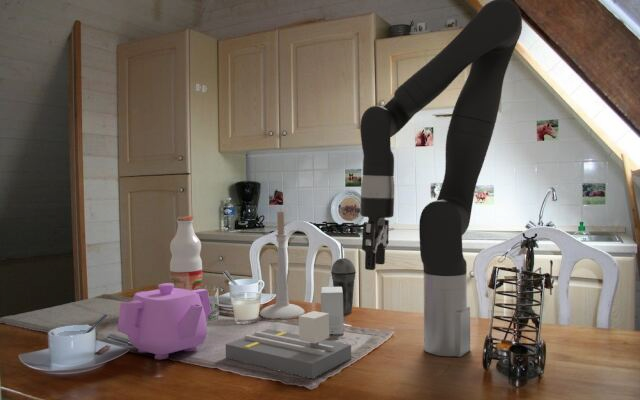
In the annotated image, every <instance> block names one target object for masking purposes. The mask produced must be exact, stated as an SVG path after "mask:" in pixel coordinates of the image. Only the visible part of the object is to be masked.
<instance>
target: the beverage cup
mask: <svg viewBox="0 0 640 400" xmlns="http://www.w3.org/2000/svg"><path fill="white" fill-rule="evenodd" d="M343 250H344V249H343V243H340V256H341V258H339V259H337V260H335V261H334V263H333V264H332V266H331V271H330V273H331V279H332V287H342V290H343V315H348V314H351V313H352V311H353V303H354V302H353V300H354V290H355V289H354V287H355V279H356V273H357V270H356V266H355V265H354V263H353V262H352V261H351V259H349V258H344V252H343Z"/></svg>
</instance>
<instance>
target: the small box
mask: <svg viewBox="0 0 640 400" xmlns="http://www.w3.org/2000/svg"><path fill="white" fill-rule="evenodd" d="M320 312H323V313H329V336H331V334H333V335H344V334H345V333H344V332H345V330H344V329H345V328H344V325H345V324H344V322H345V321H344V314H343V290H342V287H333V286H322V287H320Z"/></svg>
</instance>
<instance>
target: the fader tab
mask: <svg viewBox="0 0 640 400" xmlns="http://www.w3.org/2000/svg"><path fill="white" fill-rule="evenodd" d="M298 335H299V340H300V341H305V342H310V348H315V349H318V348H319V342H320V341H322V340H328V339H329V338H330V335H329V313H323V312H321V311H315V310H312V311H310V312H306V313H305V314H303V315H300V316H299V317H298Z"/></svg>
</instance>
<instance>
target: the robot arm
mask: <svg viewBox="0 0 640 400" xmlns="http://www.w3.org/2000/svg"><path fill="white" fill-rule="evenodd" d="M522 17H523V16H522V13H521V10H520V8H519V6H518V5H517V4H516V3H515V2H513V1H512V0H490V1H489V2H487V3H485V4H484V5H483V6H482V7H481V8H480V9H479V10H478V11H477V12H476V13H475V15H474V16H473V17H472V19H470V20H469V22H468V23H467V24H466V25H465V27H463V29H462V30H461V31H460V32H459V33H458V34H457V35H455V37H454V38H453V39H452V40H451V41H450V42H449V43H448V44H447V45H446V46H445V47H444V48H443V49H442V50H441V51H439V52H438V53H437V54H436V55H435V56H434V57H433V58H431V59H430V60H429V61H428V62H427V63H426V64H424V66H422V67H421V68H420V69H419V70H418V71H416V72H415V73H414V74H412V75H411V76H410V77H409V78H408V79H406V80H405V81H404V82H403V83H402V84H400V86H399V87H397V89H396V90H395V91H394V94H393V97H392V98H390V100H389V101H388V102H386V104H385V105H383V106H380V105H372V106H370V107H368V108H367V109H366V110H365V111H364V112H363V114H362V116H361V119H360V128H359V129H360V130H359V131H360V132H359V133H360V140H361V147H362V153H363V160H362V179H361V186H360V210H359V211H360V216H361V217H363V218H368V220H367V222H366V223H365V222H364V223H363V224H362V241H361V242H362V243H361V250H362V251H364V253H365V256H364V257H365V258H364V269H365V271H366V270H368V271H374V270H376V265H385V263H386V249H387V246H388V244H389V243H390V242H389V234H390V233H389V228H390V227H389V226H390V225H389V224H390V220H389V218H392V217H394V211H395V210H394V209H395V178H394V176H395V175H394V174H395V156H394V152H393V151H392V149H391V148H392V147H391V144H392V143H391V138H392V137H393V136H395V135H396V134H398V133H399V132H400V131H401V130H402V129H403V128H404V127H405V126H406V125H407V124H408V123H409V122H410V120H412V118H413V117H414V116H415V115H416V114H417V113H419V112H420V111H422V110H423V109H424V108H425V107H427V106H428V105H429V104H431V102H434V101H433V100H435V99H436V98H437V97H439V96H440V95H441V94H442V93H443V92H445V90H446V89H447V88H448V87H449V86H450V85H451V84H452V83H453V82H454V81H455V79H456V78H457V77H458V76H459V75H460V74H461V73H462V72H463V71H464V70H465V69H467V68H468V67H469V66H470V65H471V66H470V69H469V73H468V75H467V77H466V80H465V82H464V85H463V86H462V87H461V91H460V92H459V95H458V97H457V100H456V102H455V105H454V107H453V110H452V113H451V117H450V121H449V124H448V127H447V128H448V129H447V133H446V138H445V164H444V165H445V167H444V168H445V170H444V176H443V181H442V184H441V188H440V191H439V194H438V196H437V199H436V200H435V201H431V202H429V203H428V204H427V205H426V206H424V208H423V209H422V211H421V213H420V217H419V225H418V226H419V231H418V232H419V250H420V251H419V254H420V259H421V263H422V267H423V268H422V269H423V344H424V345H423V347H424V348H423V349H424V351H425V352H427V353H428V354H431V355H435V356H440V357H459V358H461V357H463V356H464V355H465V354H467V353H468V352H469V351H471V308H470V307H469V306H467V305H468V303H467V302H468V301H467V299H468V298H467V297H468V296H467V295H468V293H467V290H468V289H467V288H468V283H467V280H468V279H467V271H468V270H467V268H468V267H467V266H468V265H467V261H466V259H465V257H464V254H463V235H464V234H465V233H466V232H467V230H468V228H469V226H470V223H471V222H470V221H471V216H472V211H473V203H474V199H475V198H474V197H475V192H476V186H477V183H478V179H479V176H480V174H481V171H482V168H483V165H484V162H485V159H486V157H487V153H488V150H489V146H490V144H491V141H492V137H493V134H494V130H495V126H496V123H497V117H498V114H499V110H500V103H501V98H502V91H503V85H504V79H505V76H506V73H507V69H508V66H509V64H510V61H511V58H512V56H513V53H514V50H515V48H516V47H517V43H518V42H519V39H520V36H521V34H522V29H523V19H522ZM386 218H387V219H386Z"/></svg>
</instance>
